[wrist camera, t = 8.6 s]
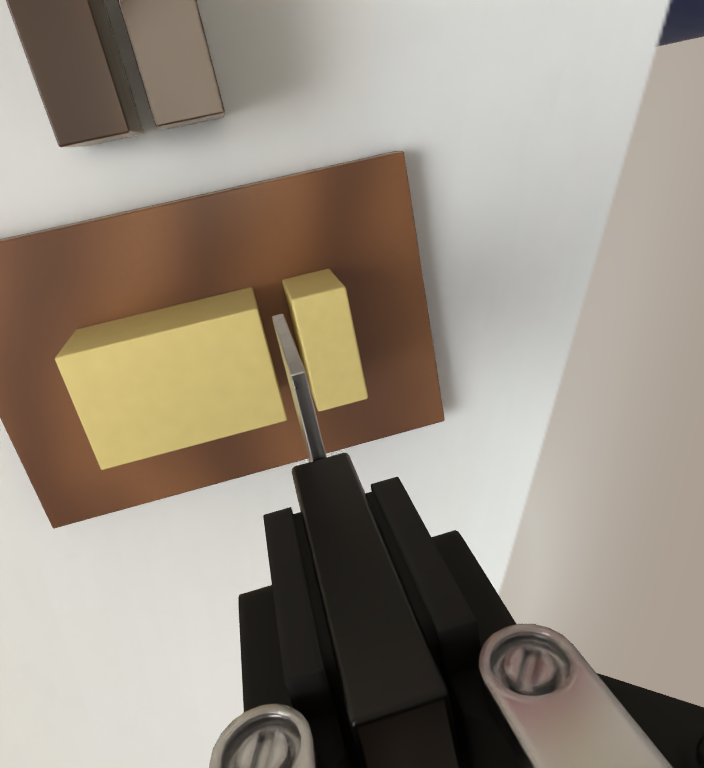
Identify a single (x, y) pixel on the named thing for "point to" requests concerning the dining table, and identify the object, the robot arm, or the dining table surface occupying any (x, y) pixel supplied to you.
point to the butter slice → (326, 338)
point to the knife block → (116, 66)
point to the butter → (172, 378)
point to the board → (206, 279)
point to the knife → (367, 607)
